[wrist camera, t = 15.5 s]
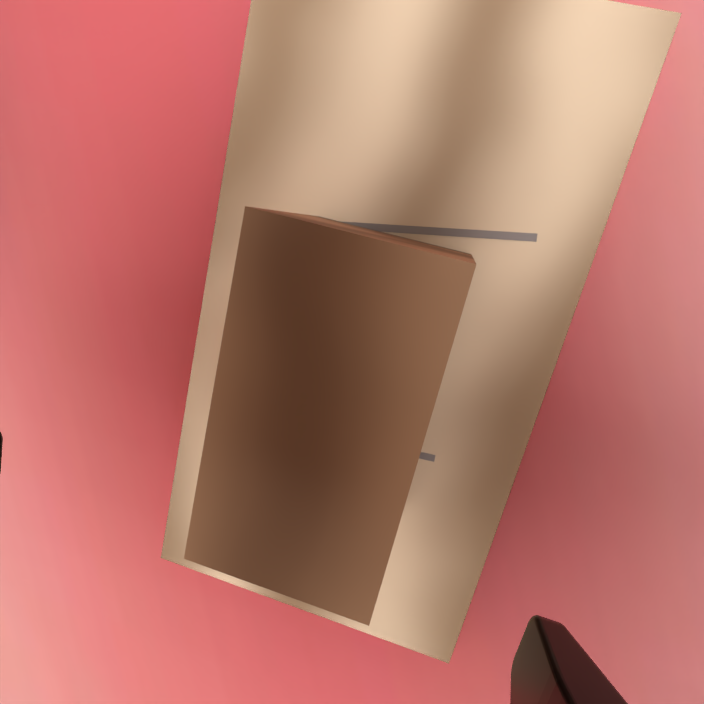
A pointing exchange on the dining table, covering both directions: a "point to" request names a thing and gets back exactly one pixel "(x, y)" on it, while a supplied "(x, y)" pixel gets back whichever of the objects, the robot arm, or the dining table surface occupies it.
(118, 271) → the dining table surface
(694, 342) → the dining table surface
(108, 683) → the dining table surface
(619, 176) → the board
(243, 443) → the block
